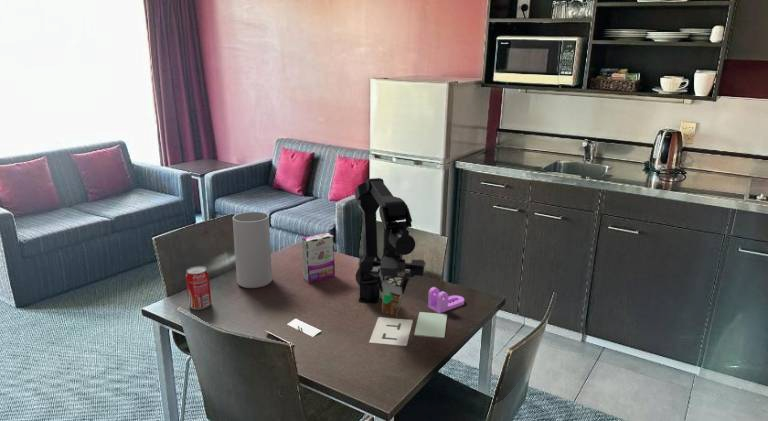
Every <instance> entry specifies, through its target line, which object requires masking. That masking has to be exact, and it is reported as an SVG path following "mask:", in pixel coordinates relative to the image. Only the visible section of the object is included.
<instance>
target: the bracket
mask: <svg viewBox="0 0 768 421" xmlns="http://www.w3.org/2000/svg"><path fill="white" fill-rule="evenodd" d="M453 301H454V302H453ZM450 302H451V303H450ZM427 303H428V304H427V308H429V309H430V310H432V311H434V312H435V313H437V314H443V313H444V312H447V311H450V310H453V309H455V308H459V307H462V306H463V305H465V298H464V297H463V296H460V295H458V294H457V295H456V294H455V295H450V296H449V294H448V293H447V292H445V291H444V290H443V291H440V289H439V288H437V287H436V286H432V287H431V288H430V289H429V290H428V296H427Z"/></svg>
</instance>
